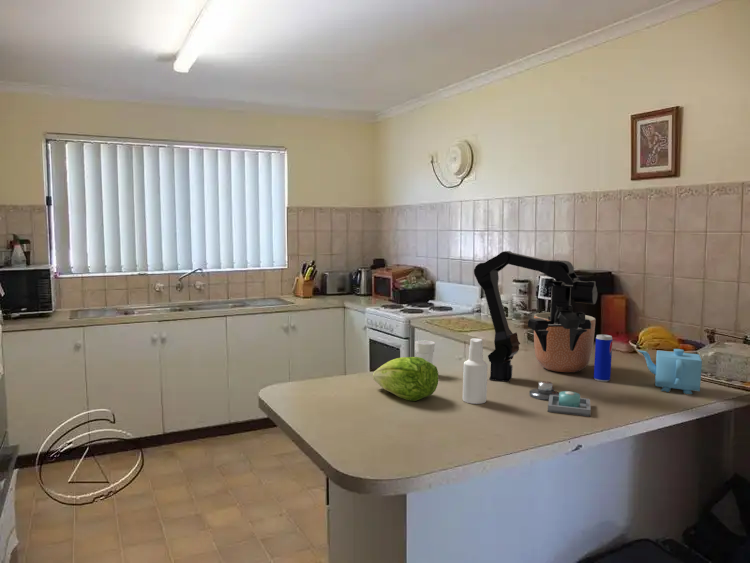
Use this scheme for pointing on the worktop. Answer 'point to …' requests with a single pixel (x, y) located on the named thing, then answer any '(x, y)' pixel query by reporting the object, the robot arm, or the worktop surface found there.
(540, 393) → the round metal saucer
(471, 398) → the spray bottle
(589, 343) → the planter
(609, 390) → the worktop surface
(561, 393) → the teal rounded toy
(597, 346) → the beverage can
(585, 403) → the tray
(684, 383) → the teapot
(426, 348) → the cup
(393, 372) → the lettuce
